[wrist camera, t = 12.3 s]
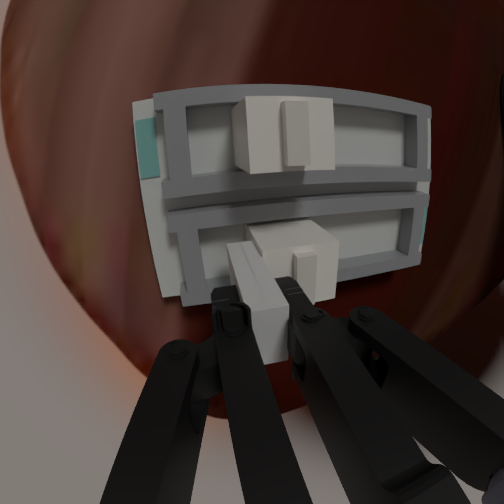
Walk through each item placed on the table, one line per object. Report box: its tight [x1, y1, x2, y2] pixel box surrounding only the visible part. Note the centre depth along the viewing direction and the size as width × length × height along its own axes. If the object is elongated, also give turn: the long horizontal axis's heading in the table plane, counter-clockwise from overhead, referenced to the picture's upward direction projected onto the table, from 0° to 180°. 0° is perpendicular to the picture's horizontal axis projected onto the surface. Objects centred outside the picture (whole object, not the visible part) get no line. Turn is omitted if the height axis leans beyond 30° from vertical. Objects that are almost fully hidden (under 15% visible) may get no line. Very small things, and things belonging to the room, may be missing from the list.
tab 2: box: [245, 217, 339, 305], centre depth 16 cm, size 4×3×6 cm
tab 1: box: [231, 96, 335, 174], centre depth 13 cm, size 4×3×6 cm
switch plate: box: [132, 84, 432, 307], centre depth 18 cm, size 22×13×3 cm, turn 94°
